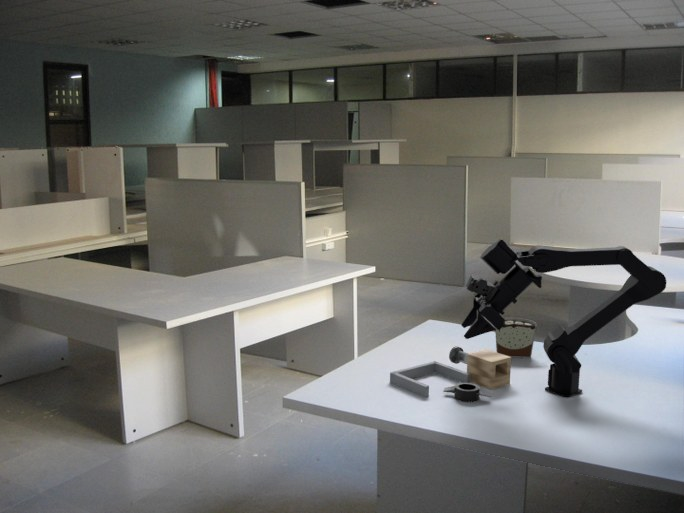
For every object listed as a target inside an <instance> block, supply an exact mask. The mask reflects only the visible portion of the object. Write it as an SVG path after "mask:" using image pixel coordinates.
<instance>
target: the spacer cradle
mask: <svg viewBox="0 0 684 513" xmlns="http://www.w3.org/2000/svg"><path fill="white" fill-rule="evenodd" d="M434 373H436V374H438V375H441V376H443V377H447V378H449V379H451V380H454V381H457V382H458V383H471V374H470V373H467V371H465V370H464V371H463V370H461V369H458V368H455V367H452V366H450V365H447V364H443V363H441V362H439V361H436V360H434V361H429V362H427V363H422V364H418V365H414V366H411V367H407V368H403V369H399V370H395V371H390V372H389V383H391V384H393V385H397V387H400V388H403V389H406V390H408V391H410V392H413V393H414V394H418V395H420V396H422V397H423V398H426V397H429V396H430V386H429V384H428V385H427V384H425V383H423V382H421V381H418V380H416V379H415V378H418V377H423V376H425V375H429V374H434Z"/></svg>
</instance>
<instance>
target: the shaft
mask: <svg viewBox="0 0 684 513" xmlns="http://www.w3.org/2000/svg"><path fill="white" fill-rule="evenodd" d="M463 349H464V348H462V347H460V346H458V345H457V346H453V347H452V348H451V349H450V350H449V356H448V358H449V360H450V362H451V363H453V364H454V365H455V364H457V365H458V364H460V363H462V364H464V365H467V356H468V354H470V353H468V352H466V351H464V350H463Z"/></svg>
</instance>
